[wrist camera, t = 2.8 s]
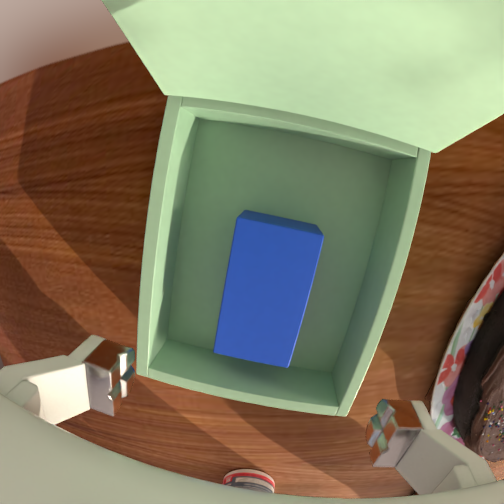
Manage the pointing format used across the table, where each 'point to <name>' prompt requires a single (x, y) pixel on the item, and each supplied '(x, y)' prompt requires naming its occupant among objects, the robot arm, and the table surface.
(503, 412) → the chocolate cake
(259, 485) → the pill bottle
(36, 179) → the table surface
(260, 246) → the block
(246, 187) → the box
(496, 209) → the table surface
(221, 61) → the lunchbox lid
